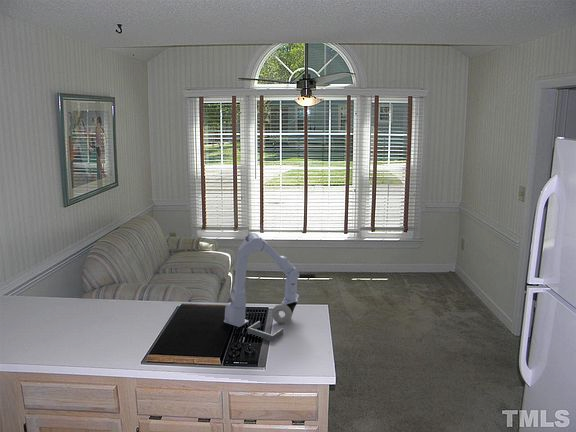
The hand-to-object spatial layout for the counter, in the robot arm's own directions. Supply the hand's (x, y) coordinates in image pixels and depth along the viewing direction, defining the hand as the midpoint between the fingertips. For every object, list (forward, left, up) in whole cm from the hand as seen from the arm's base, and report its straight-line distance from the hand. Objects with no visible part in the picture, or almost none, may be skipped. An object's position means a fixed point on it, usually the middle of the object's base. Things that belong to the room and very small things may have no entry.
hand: (289, 315), depth 253 cm
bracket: (0, -22, -1) cm, 22 cm away
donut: (0, -7, -1) cm, 8 cm away
